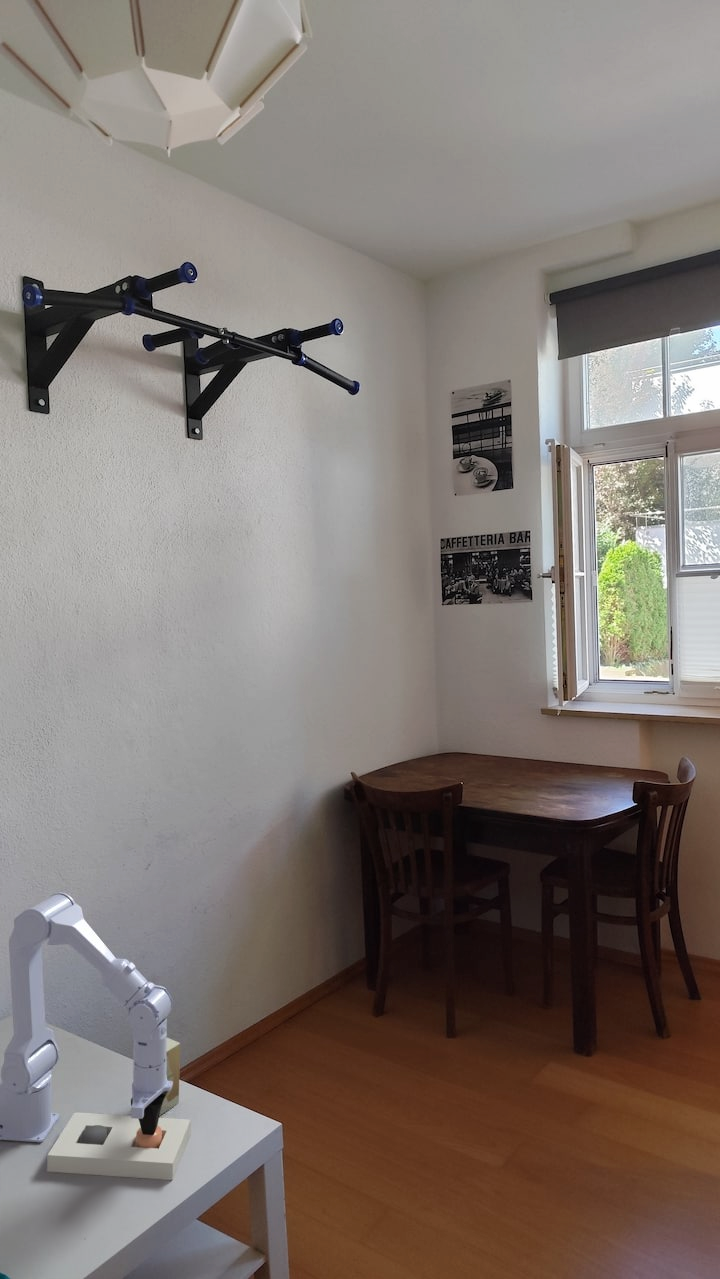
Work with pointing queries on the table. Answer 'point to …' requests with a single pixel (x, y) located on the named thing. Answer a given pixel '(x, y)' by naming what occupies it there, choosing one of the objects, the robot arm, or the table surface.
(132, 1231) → the table surface
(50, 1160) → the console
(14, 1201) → the table surface
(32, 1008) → the robot arm
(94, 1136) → the grey rounded piece
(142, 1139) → the terracotta button
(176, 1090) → the skincare box
